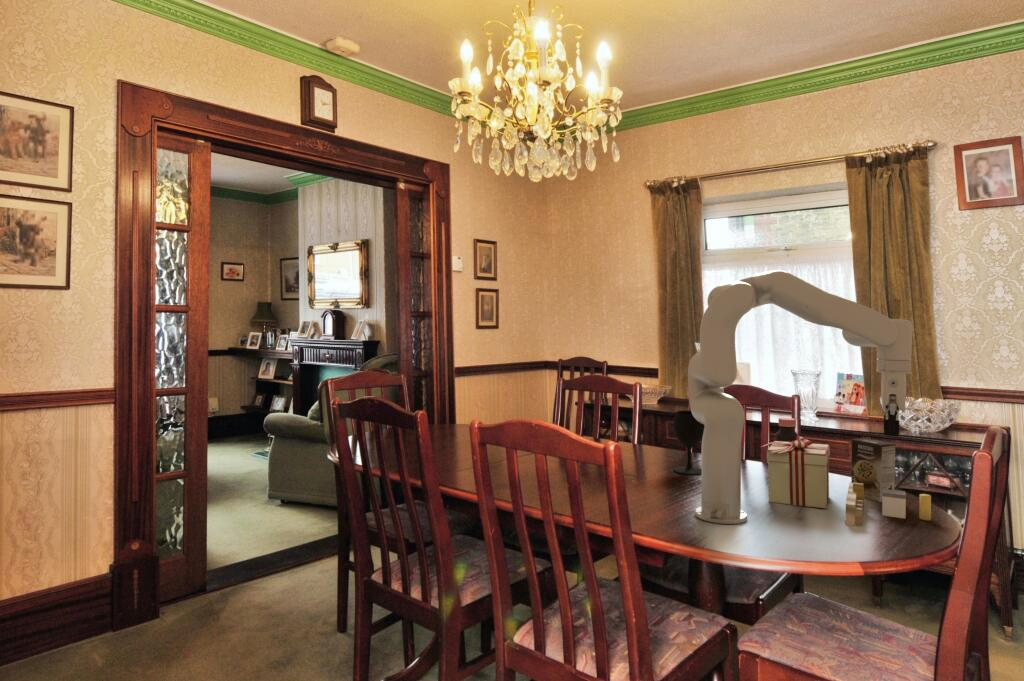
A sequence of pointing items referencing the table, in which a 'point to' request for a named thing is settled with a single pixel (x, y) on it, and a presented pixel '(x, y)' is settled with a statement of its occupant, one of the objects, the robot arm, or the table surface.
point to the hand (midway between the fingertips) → (890, 433)
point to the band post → (925, 507)
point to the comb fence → (854, 504)
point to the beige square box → (894, 503)
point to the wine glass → (688, 438)
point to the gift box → (798, 473)
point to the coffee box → (873, 466)
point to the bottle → (786, 430)
